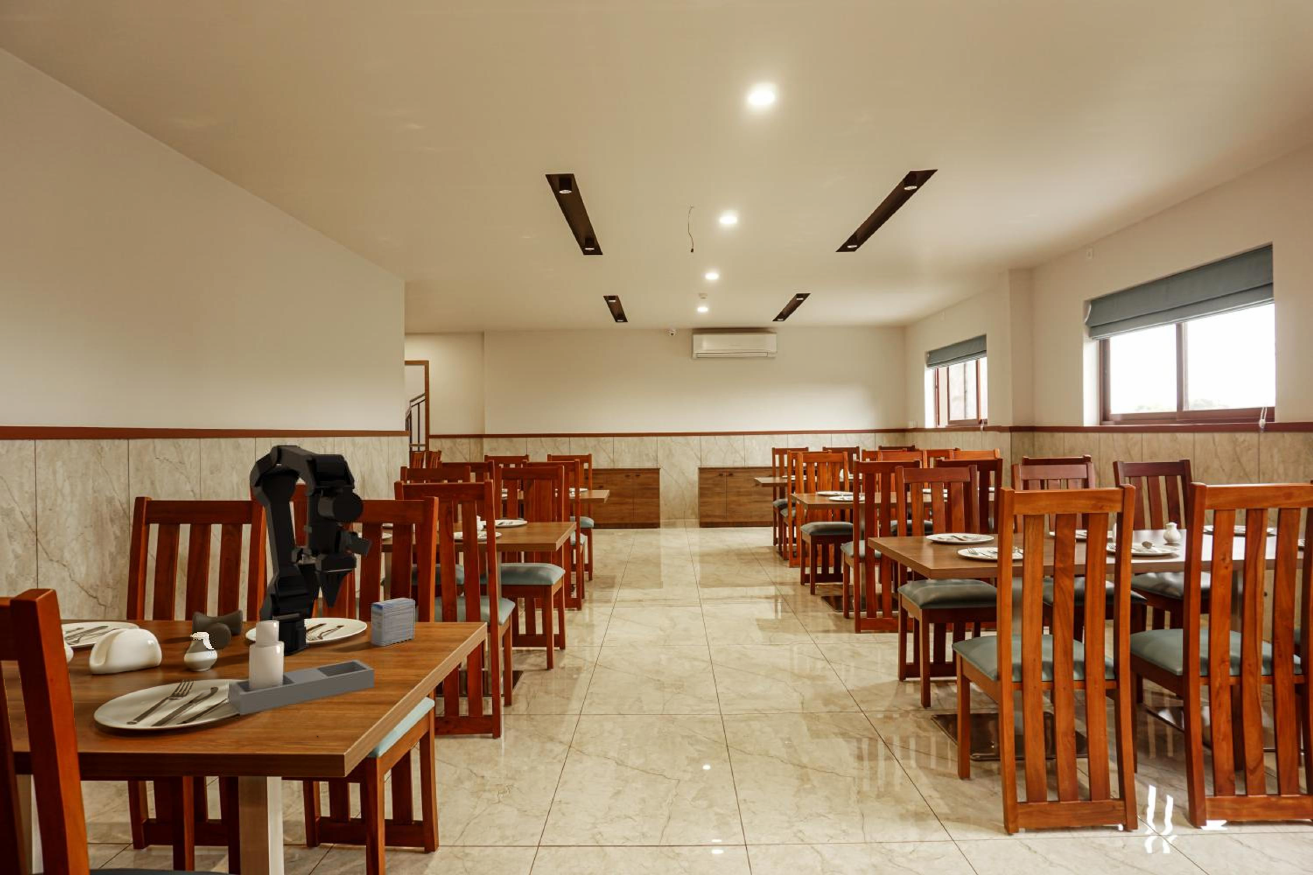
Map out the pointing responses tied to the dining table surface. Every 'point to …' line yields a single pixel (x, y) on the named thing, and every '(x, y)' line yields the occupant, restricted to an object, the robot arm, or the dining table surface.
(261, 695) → the caddy
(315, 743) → the dining table surface
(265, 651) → the white stepped cylinder
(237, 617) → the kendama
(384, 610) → the medicine box
